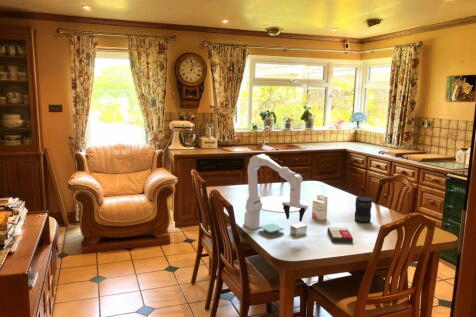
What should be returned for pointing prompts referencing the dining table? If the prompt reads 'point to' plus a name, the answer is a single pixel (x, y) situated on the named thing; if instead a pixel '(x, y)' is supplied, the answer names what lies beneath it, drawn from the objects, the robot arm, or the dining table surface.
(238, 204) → the dining table surface
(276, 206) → the lazy susan
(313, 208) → the ink cartridge box
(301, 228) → the block
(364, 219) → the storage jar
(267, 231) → the stand
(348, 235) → the calculator
